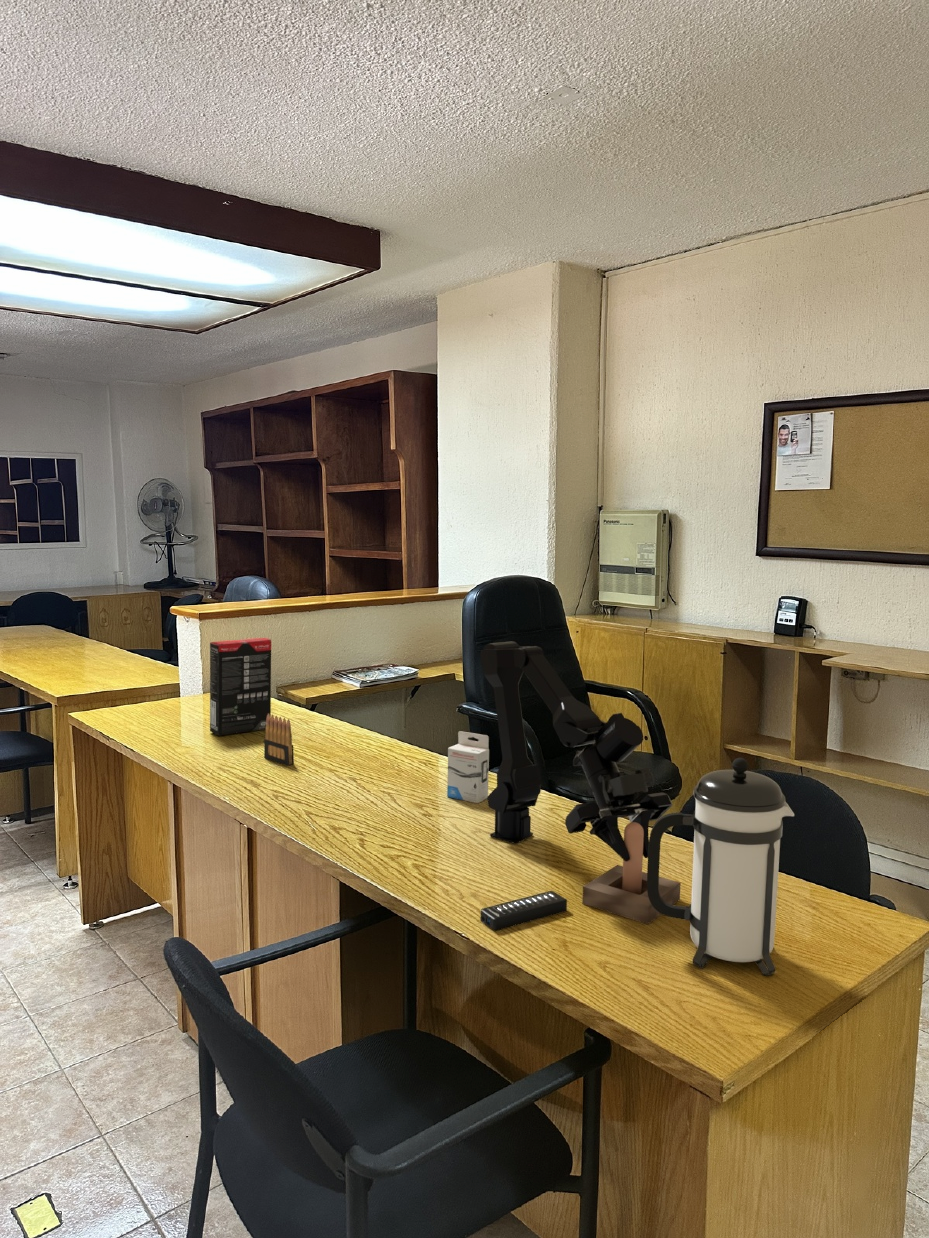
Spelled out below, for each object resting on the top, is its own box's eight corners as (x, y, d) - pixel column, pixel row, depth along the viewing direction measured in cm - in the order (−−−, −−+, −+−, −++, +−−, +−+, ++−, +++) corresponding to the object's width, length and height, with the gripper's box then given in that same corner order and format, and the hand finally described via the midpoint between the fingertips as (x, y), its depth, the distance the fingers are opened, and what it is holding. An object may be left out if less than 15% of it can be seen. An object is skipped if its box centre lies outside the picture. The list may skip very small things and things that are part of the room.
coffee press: (725, 921, 143) (734, 739, 140) (806, 965, 129) (818, 764, 126) (641, 944, 135) (648, 751, 132) (717, 994, 121) (727, 780, 118)
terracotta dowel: (618, 897, 150) (621, 823, 148) (627, 891, 152) (630, 818, 151) (635, 902, 148) (638, 827, 146) (644, 896, 150) (647, 822, 149)
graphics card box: (262, 724, 271) (261, 636, 268) (273, 729, 266) (272, 638, 262) (209, 733, 260) (207, 640, 257) (219, 737, 255) (217, 643, 251)
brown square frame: (582, 903, 149) (582, 886, 149) (616, 880, 158) (617, 864, 158) (648, 924, 142) (648, 906, 141) (679, 899, 151) (680, 882, 151)
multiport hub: (567, 913, 146) (568, 899, 146) (494, 933, 139) (494, 919, 138) (551, 902, 150) (551, 889, 150) (479, 922, 142) (479, 908, 142)
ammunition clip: (264, 757, 235) (263, 713, 233) (269, 756, 236) (269, 712, 235) (288, 766, 227) (287, 720, 226) (294, 764, 229) (293, 718, 227)
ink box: (446, 797, 204) (446, 734, 202) (456, 791, 208) (457, 730, 206) (478, 803, 200) (479, 739, 198) (489, 797, 204) (490, 735, 202)
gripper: (575, 758, 147) (610, 845, 138) (668, 747, 154) (707, 829, 146) (550, 790, 155) (582, 874, 146) (639, 778, 162) (674, 858, 154)
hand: (637, 858), depth 148 cm, fingers open, 4 cm apart
